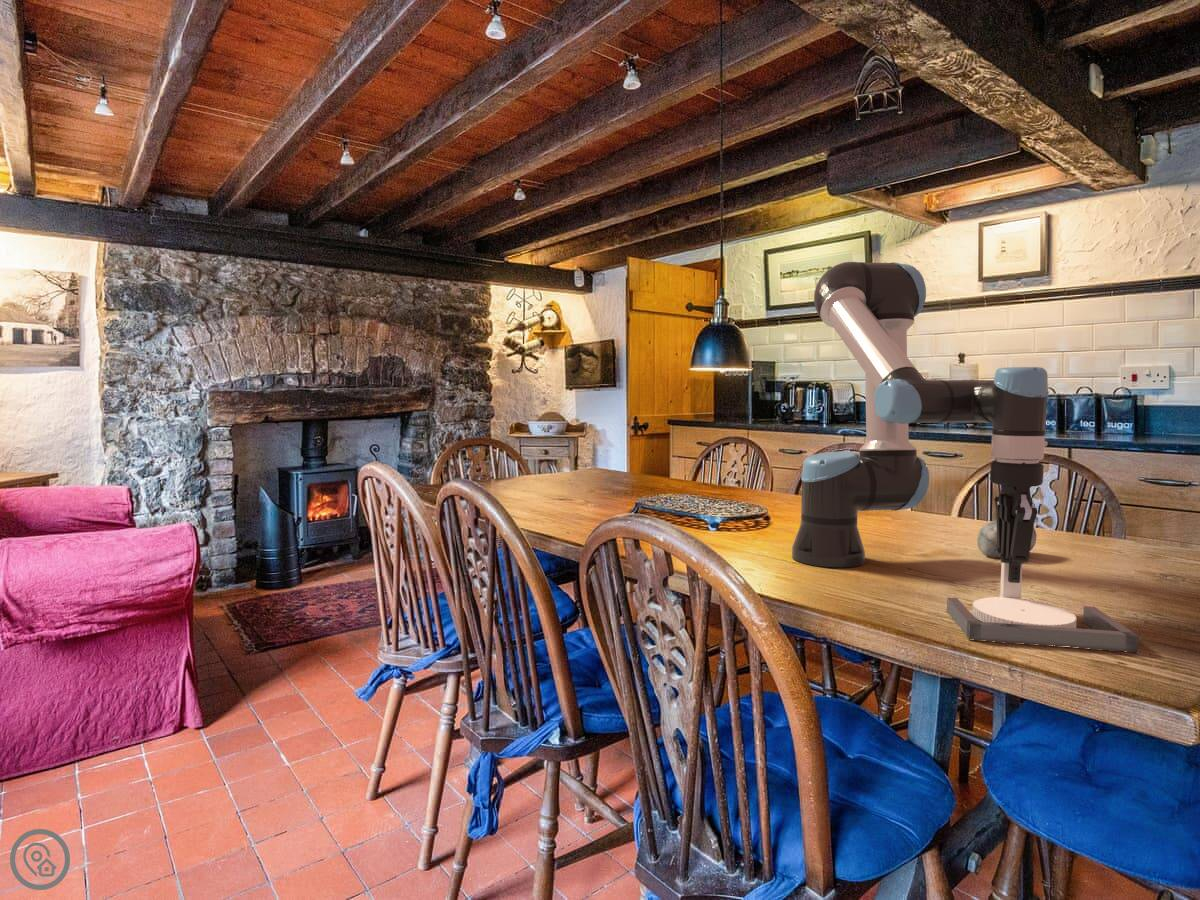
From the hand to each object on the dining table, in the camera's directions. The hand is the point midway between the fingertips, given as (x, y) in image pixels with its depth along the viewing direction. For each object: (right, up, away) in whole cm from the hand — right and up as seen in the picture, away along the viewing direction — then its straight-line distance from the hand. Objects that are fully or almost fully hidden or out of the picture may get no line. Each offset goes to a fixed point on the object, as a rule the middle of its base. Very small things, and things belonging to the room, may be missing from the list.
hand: (1010, 599), depth 117 cm
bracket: (-3, -3, -11) cm, 11 cm away
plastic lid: (-2, -3, -7) cm, 8 cm away
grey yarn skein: (+21, +1, +38) cm, 44 cm away
